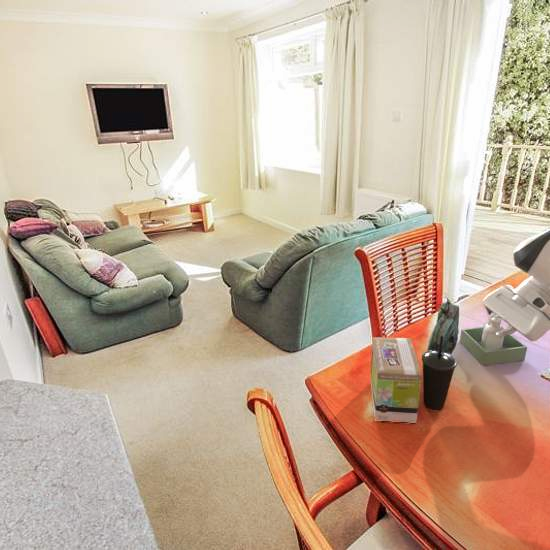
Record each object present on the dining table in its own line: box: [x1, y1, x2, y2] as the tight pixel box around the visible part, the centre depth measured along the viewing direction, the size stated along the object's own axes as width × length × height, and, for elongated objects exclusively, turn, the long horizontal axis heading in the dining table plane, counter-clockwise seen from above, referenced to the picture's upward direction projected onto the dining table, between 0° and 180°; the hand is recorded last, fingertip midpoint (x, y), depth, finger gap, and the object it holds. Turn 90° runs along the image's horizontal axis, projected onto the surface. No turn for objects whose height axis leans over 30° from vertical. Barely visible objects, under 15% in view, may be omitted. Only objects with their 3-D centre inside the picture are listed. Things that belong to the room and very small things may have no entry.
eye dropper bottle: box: [480, 315, 505, 351], centre depth 109 cm, size 4×6×12 cm
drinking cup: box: [421, 336, 458, 411], centre depth 90 cm, size 8×8×20 cm
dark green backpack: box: [426, 297, 460, 355], centre depth 102 cm, size 20×6×20 cm, turn 146°
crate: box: [459, 326, 528, 366], centre depth 110 cm, size 12×12×4 cm
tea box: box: [370, 336, 423, 424], centre depth 93 cm, size 15×10×15 cm, turn 171°
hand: (492, 332), depth 109 cm, fingers closed on eye dropper bottle, 3 cm apart
